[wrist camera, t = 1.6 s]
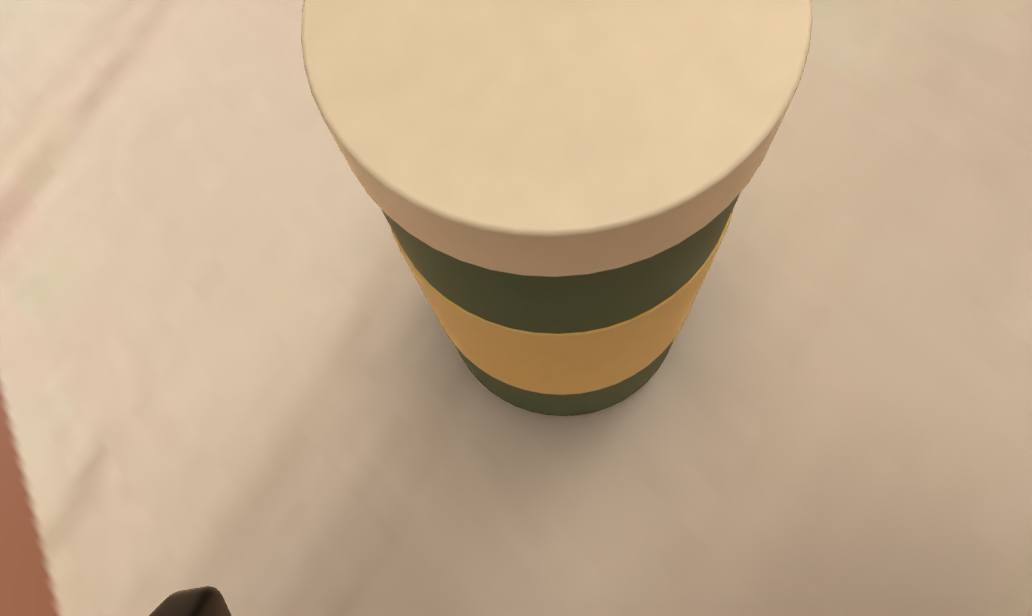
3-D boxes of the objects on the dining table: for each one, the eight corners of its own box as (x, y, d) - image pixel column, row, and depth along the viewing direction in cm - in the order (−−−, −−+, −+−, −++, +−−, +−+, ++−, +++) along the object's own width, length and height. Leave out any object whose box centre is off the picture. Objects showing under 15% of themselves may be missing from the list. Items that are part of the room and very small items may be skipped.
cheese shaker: (689, 419, 21) (844, 229, 9) (441, 420, 21) (274, 240, 9) (675, 192, 23) (787, -209, 11) (449, 197, 23) (320, -182, 11)
